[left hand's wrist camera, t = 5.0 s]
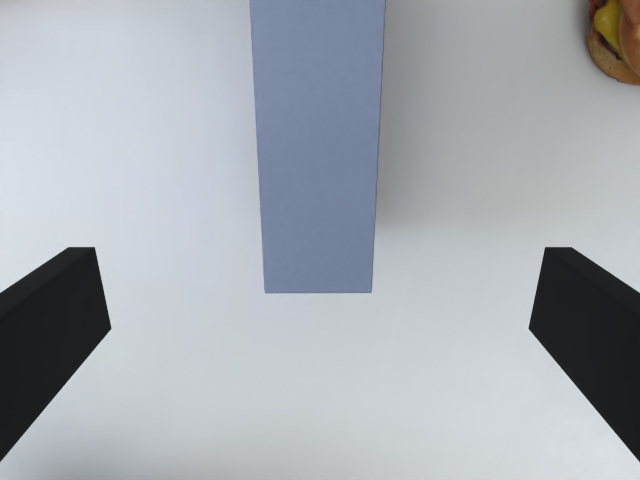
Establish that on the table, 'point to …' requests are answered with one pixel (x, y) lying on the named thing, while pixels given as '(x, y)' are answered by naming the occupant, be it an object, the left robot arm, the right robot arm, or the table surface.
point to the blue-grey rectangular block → (317, 140)
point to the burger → (616, 38)
